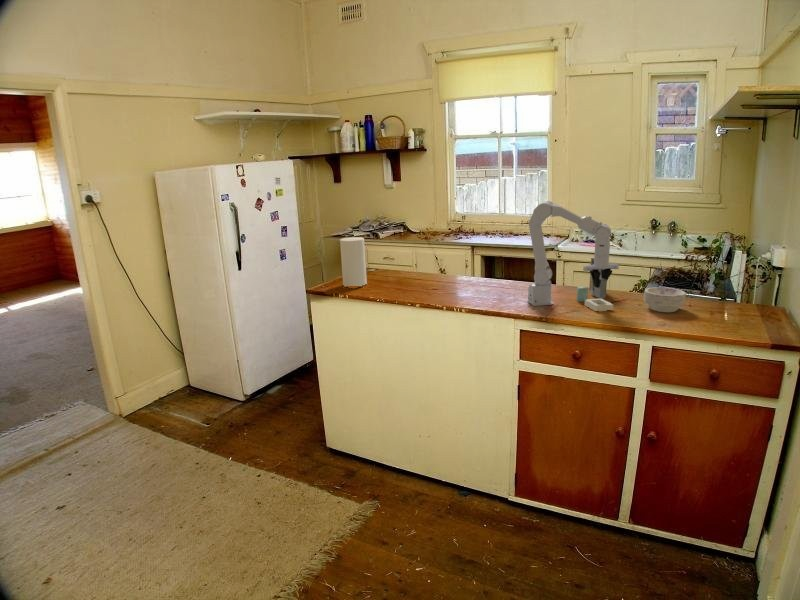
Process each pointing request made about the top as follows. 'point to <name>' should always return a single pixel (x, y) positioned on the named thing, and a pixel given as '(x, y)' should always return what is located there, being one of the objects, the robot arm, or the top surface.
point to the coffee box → (591, 288)
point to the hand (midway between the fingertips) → (599, 286)
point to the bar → (600, 288)
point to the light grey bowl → (664, 299)
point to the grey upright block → (582, 293)
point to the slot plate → (598, 304)
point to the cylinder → (353, 261)
